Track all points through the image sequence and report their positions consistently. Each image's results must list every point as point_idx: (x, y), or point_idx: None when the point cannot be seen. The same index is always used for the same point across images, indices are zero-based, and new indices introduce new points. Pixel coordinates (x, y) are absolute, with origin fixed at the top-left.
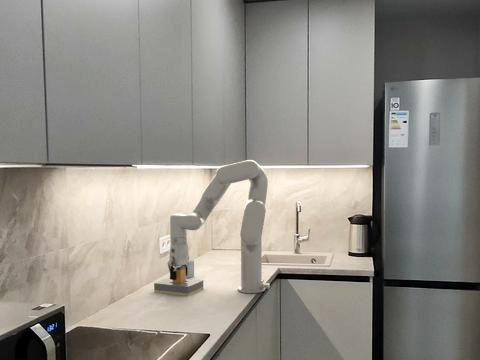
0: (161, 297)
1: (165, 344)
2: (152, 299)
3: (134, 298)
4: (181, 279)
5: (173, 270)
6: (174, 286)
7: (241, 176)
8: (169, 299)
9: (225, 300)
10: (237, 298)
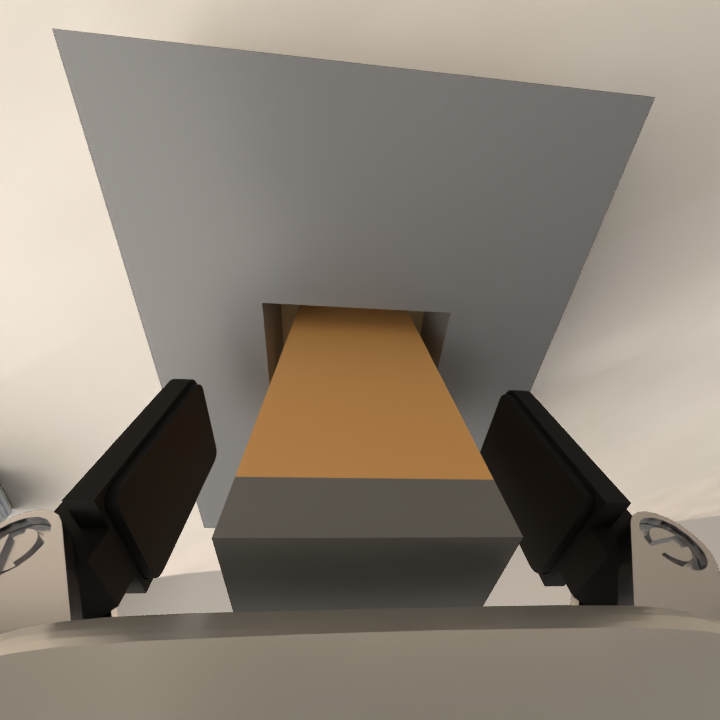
0: (608, 358)
1: None
2: (664, 387)
3: (620, 483)
4: (407, 355)
5: (684, 548)
6: (541, 342)
7: None
8: (692, 263)
9: None
10: None
